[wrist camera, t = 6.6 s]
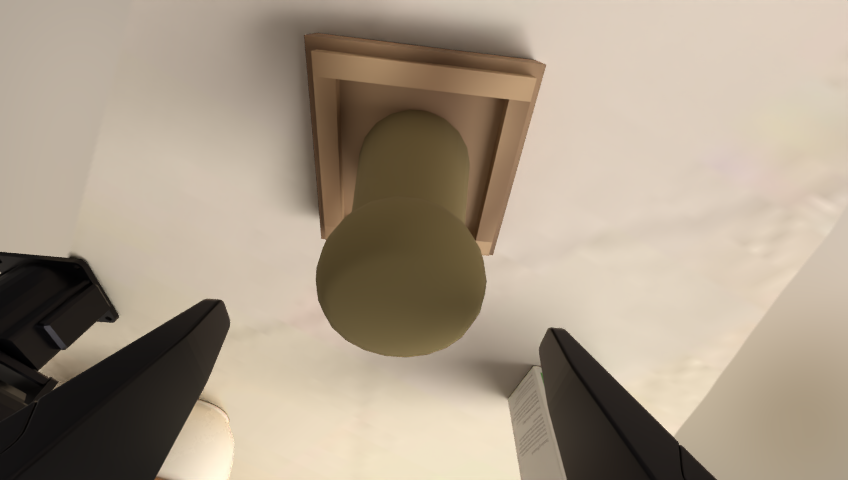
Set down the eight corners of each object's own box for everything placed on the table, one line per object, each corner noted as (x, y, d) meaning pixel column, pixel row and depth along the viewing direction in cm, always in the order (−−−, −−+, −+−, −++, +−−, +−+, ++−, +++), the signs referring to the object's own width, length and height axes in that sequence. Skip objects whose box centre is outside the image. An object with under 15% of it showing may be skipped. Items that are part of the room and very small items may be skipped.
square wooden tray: (329, 222, 22) (317, 246, 20) (317, 33, 16) (298, 36, 14) (488, 237, 23) (494, 262, 21) (534, 60, 17) (551, 67, 14)
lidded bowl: (132, 369, 33) (15, 507, 23) (262, 401, 35) (203, 535, 26) (136, 426, 39) (46, 552, 30) (245, 449, 42) (194, 570, 33)
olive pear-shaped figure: (335, 159, 18) (237, 309, 9) (421, 82, 16) (408, 174, 7) (408, 232, 20) (391, 406, 11) (491, 174, 18) (552, 333, 9)
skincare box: (608, 378, 32) (727, 622, 19) (573, 413, 36) (654, 637, 23) (529, 363, 31) (599, 611, 18) (501, 400, 35) (544, 629, 22)
